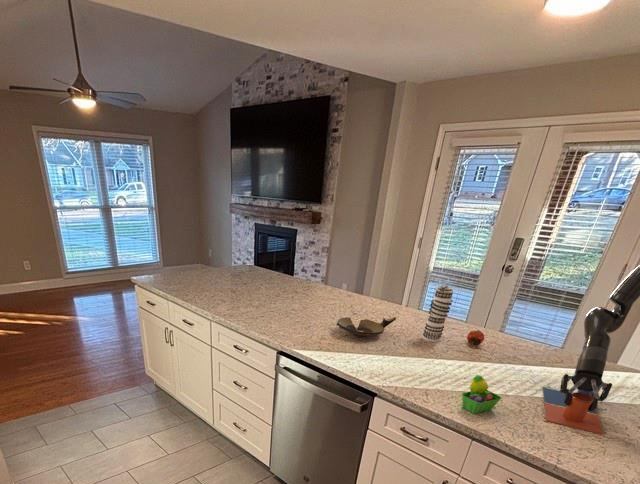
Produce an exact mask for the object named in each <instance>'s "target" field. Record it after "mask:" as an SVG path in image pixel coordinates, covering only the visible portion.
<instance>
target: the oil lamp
mask: <svg viewBox="0 0 640 484" xmlns="http://www.w3.org/2000/svg"><path fill="white" fill-rule="evenodd" d="M396 319H397V317H396V316H393V317H391V318H383V319H382V322H381V323H380V322H377V321H373V320H371V319H368V318H365V319H361V320H360V321H359V324H358V326H357V327H356V326H355V324H354V323H353V321H352V318H351V317H350V316H349V317H341V318H339V319H338V320H337V323H335V324H336V326H338V327H339V329H342V330H344V331H345V332H348V333H349V334H351V335H355V336H358V337H372V336H373V337H374V336H377V335H380V334H383V333H384V332H385V329H386V328H387V327H388V326H390V324H393V322H395V320H396Z"/></svg>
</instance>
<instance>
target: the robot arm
mask: <svg viewBox="0 0 640 484" xmlns="http://www.w3.org/2000/svg"><path fill="white" fill-rule="evenodd" d="M639 298H640V264H639V265H638V266H637V267H636V268H634V269H633V270H632V271H631V272H630V273H629V274H628V275H627V276H626V277H625V278H624V279H623V280H622V281H621V283H620V284H619V285H618V286H617V287H616V288H615V290H614V291H613V292H612V293H611V294H610V296H609V301H610V302H611V303H612V304H613V305H614V307H613V309H612V310H610V309H608V308H606V307H603V306H597V307H596V306H595V307H594V308H592V309H591V310H589V311H588V313H587V314H586V316H585V318H584V322H583V330H584V332H583V333H584V342H583V345H582V350H581V352H580V354H579V356H578V359H577V363H576V367H575V371H574V374H573V375H569V374H568V373H565V374H563V376H561V381H560V386H559V387H560V388H559V391H560V392H561V393H565V399H564V403H565V405H566V406H568V405H569V404H570V401H571V397H572V394H573V393H574V391H577V390H584V391H586V392H589V394H590V396H591V397H593V398H594V401H593V403H592V404H591V406H590V408H589V411H592V410H594V409H595V410H596V409H597V408H598V404H599V402H604V400H606V399H607V398H608V396H609V394H610V392H611V389H612V387H613V383H611V382H608V383H607V382H604V381H603V375H604V371H605V368H606V364H607V361H608V353H609V350H610V347H611V342H612V337H611V336H610V335H609V334H612V333H615V332H616V331H618V330H619V329H620V328H621V327H622V326H623V324H624V322H625V321H626V319H627V316H628V315H629V313H630V311H631V310H632V307H633V306H634V304H635V303H636V302H637V301H638V299H639ZM570 381H571V382H572V384H573V386H572V387H571V388H568V383H569V382H570ZM602 381H603V382H602ZM598 386H602V387H601V390H602V391H601V393H598V388H597V387H598Z"/></svg>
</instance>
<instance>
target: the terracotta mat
mask: <svg viewBox="0 0 640 484" xmlns="http://www.w3.org/2000/svg"><path fill="white" fill-rule="evenodd" d="M565 408H566V407H564V406H560V405H555V404H551V403H547V402H544V410H545V421H546V422H548V423H552V424H557V425H559V426H560V425H561V426H565V427H568V428H573V429H578V430H582V431H585V432H588V433H593V434H598V435H600V436H601V435H602V436H603V435H604V432H603V429H602V426H601V423H600V420H599V417H598V414H595V413H590V412H587V414H586V416H585V418H584V419H583V421H581V422H575V421H571V420H568V419H566V418H565V417H563V412H564V410H565Z"/></svg>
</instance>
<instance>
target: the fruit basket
mask: <svg viewBox="0 0 640 484" xmlns="http://www.w3.org/2000/svg"><path fill="white" fill-rule="evenodd" d="M469 390H470V391H466V392H462V393H461V397H462V402H461V403H462V408H463V409H465V410H466V411H468V412H470V413H472V414H478V413H482V412H486V411H491V410H493V409H494V408H495V406H496V405H497V404H498V403H499V402H500V400H501V399H502V397H501V396H500V395H498V394H496V393H494V392H492V391H490V390H489V385H488V383H487V381H486V380H485V378H484V377H483V376H482V375H479V374H476V375H475V376H473V377H472V381H471V383H470V385H469Z"/></svg>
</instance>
